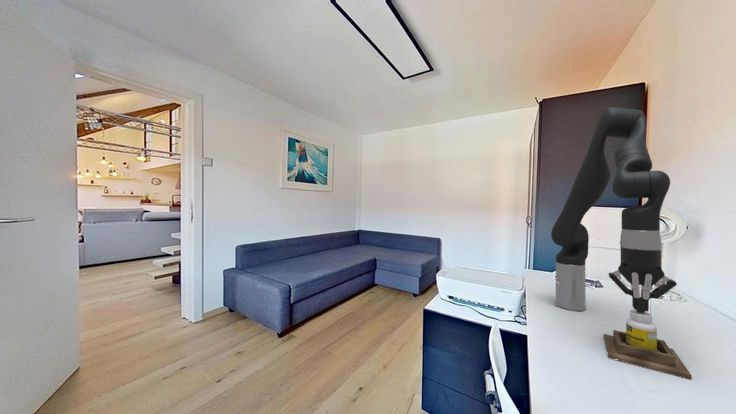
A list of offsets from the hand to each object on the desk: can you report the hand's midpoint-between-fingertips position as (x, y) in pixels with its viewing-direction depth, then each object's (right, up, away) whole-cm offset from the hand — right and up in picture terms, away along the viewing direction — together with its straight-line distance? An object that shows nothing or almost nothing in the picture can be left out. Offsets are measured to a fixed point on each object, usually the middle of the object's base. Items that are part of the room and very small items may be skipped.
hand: (640, 311), depth 70 cm
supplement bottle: (0, -11, 0) cm, 11 cm away
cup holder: (0, -12, 0) cm, 12 cm away
